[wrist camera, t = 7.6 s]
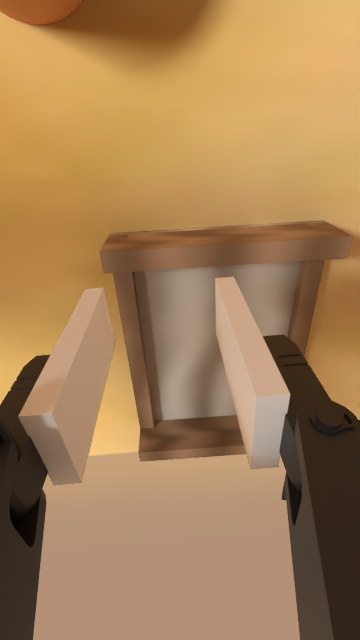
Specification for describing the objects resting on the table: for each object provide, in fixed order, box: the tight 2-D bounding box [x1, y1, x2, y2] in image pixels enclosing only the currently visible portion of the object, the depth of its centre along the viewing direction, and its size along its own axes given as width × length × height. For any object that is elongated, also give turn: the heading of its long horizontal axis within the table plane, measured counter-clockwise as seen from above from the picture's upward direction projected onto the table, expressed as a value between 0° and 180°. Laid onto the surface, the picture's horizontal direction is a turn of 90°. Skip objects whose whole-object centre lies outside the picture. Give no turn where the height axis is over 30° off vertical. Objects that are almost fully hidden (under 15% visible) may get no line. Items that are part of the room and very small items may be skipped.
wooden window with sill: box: [100, 221, 353, 461], centre depth 28 cm, size 17×23×4 cm
